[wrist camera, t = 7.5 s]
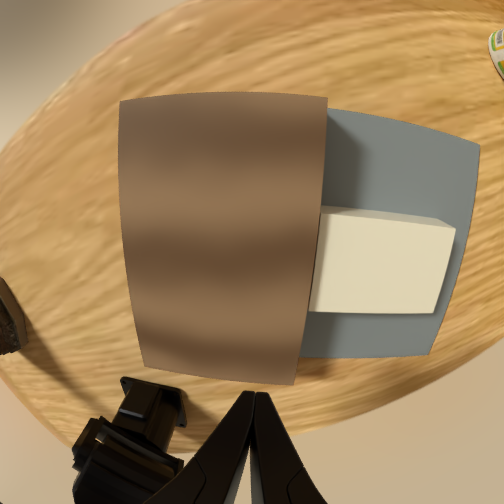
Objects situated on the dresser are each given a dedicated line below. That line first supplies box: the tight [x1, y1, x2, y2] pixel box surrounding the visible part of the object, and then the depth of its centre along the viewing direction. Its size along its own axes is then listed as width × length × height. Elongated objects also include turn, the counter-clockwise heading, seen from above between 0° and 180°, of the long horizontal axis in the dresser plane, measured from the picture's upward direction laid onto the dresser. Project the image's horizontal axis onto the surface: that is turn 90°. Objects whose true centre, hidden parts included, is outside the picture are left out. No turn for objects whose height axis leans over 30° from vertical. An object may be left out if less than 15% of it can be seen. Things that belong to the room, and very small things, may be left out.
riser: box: [118, 92, 328, 385], centre depth 17 cm, size 18×11×4 cm, turn 177°
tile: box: [308, 205, 456, 313], centre depth 17 cm, size 6×9×2 cm, turn 88°
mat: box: [299, 108, 480, 358], centre depth 18 cm, size 18×12×1 cm
